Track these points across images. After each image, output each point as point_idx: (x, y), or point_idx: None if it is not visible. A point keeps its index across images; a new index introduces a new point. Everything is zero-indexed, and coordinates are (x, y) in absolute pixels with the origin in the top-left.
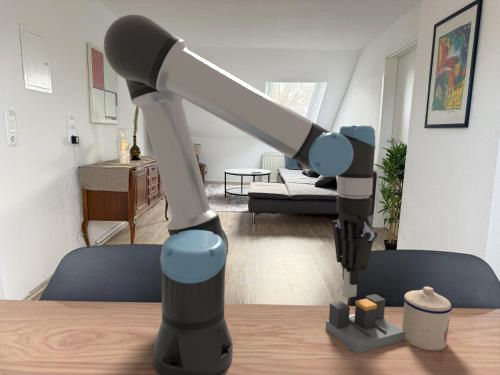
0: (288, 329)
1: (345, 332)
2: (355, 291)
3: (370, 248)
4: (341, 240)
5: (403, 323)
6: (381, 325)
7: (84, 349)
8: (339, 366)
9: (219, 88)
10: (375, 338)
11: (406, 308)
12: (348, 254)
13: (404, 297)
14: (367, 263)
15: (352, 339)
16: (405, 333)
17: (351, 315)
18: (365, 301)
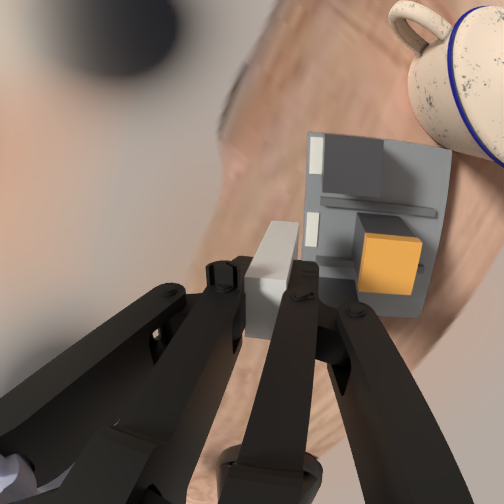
0: (263, 363)
1: (371, 306)
2: (297, 235)
3: (441, 452)
4: (97, 409)
5: (445, 138)
6: (399, 185)
7: (215, 498)
8: (416, 354)
9: None
10: (432, 258)
11: (483, 153)
12: (221, 376)
13: (473, 130)
14: (389, 339)
15: (401, 312)
16: (451, 148)
17: (310, 227)
18: (382, 262)
